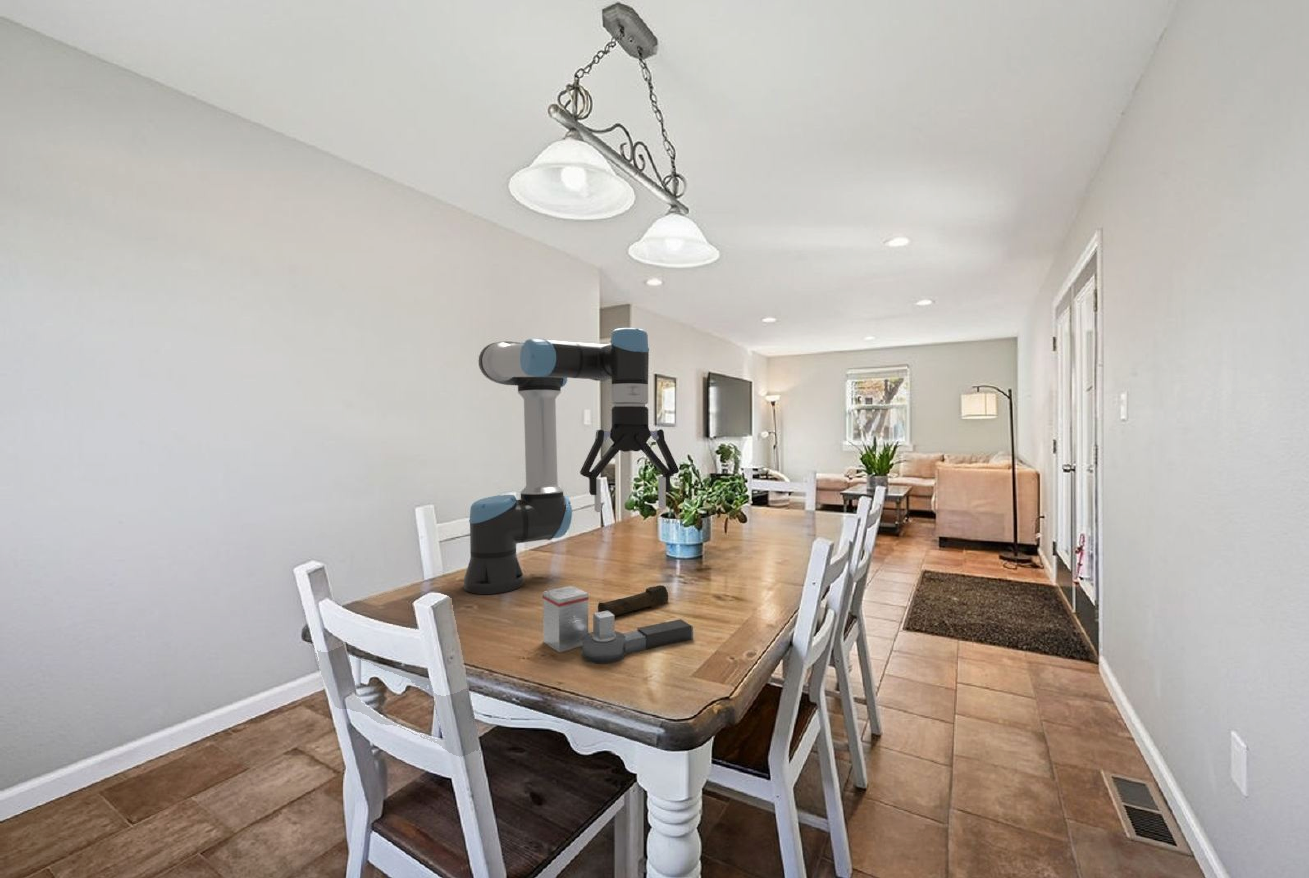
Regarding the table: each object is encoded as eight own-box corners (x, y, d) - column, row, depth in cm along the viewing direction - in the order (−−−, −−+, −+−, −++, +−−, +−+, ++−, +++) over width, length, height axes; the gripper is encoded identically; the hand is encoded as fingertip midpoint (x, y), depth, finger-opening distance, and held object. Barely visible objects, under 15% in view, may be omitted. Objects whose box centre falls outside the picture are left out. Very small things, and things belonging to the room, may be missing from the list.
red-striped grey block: (543, 641, 109) (542, 591, 109) (571, 633, 113) (571, 585, 113) (559, 652, 104) (558, 600, 104) (588, 643, 108) (588, 593, 108)
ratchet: (592, 666, 98) (591, 625, 98) (576, 650, 105) (575, 611, 105) (698, 642, 109) (699, 604, 109) (677, 628, 116) (677, 593, 116)
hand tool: (605, 623, 120) (606, 602, 120) (596, 617, 123) (596, 597, 123) (674, 606, 131) (675, 586, 131) (664, 601, 134) (664, 582, 134)
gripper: (571, 404, 106) (572, 515, 106) (694, 405, 113) (694, 509, 114) (566, 405, 113) (566, 509, 114) (681, 406, 120) (681, 504, 121)
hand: (630, 509), depth 114 cm, fingers open, 13 cm apart
